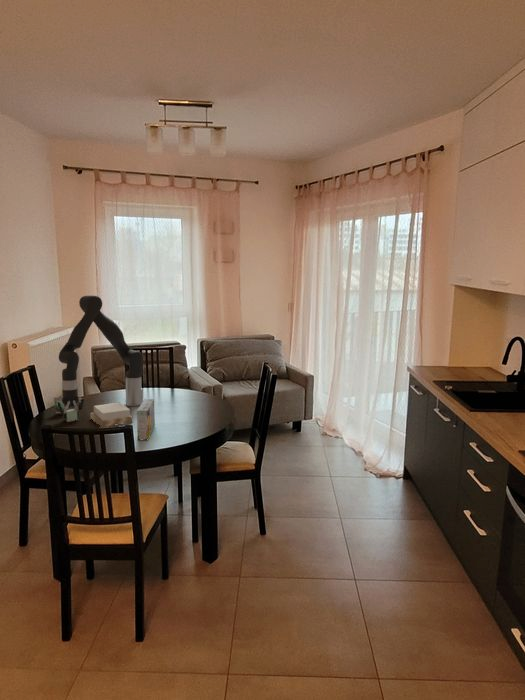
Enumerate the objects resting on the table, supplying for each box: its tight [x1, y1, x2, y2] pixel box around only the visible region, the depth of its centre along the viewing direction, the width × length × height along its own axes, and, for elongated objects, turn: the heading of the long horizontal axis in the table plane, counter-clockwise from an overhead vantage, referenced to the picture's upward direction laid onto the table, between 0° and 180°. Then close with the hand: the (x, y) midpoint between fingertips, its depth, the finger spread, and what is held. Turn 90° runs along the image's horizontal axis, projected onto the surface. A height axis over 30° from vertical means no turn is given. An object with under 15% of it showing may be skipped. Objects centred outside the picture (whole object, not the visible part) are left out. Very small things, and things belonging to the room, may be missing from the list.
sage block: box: [65, 408, 78, 423], centre depth 241 cm, size 5×5×5 cm
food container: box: [53, 395, 72, 415], centre depth 253 cm, size 12×6×10 cm, turn 168°
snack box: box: [136, 398, 156, 440], centre depth 224 cm, size 21×6×15 cm, turn 5°
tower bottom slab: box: [89, 411, 133, 428], centre depth 242 cm, size 16×18×4 cm
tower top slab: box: [93, 402, 131, 421], centre depth 241 cm, size 14×16×4 cm
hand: (70, 418), depth 241 cm, fingers closed on sage block, 5 cm apart
